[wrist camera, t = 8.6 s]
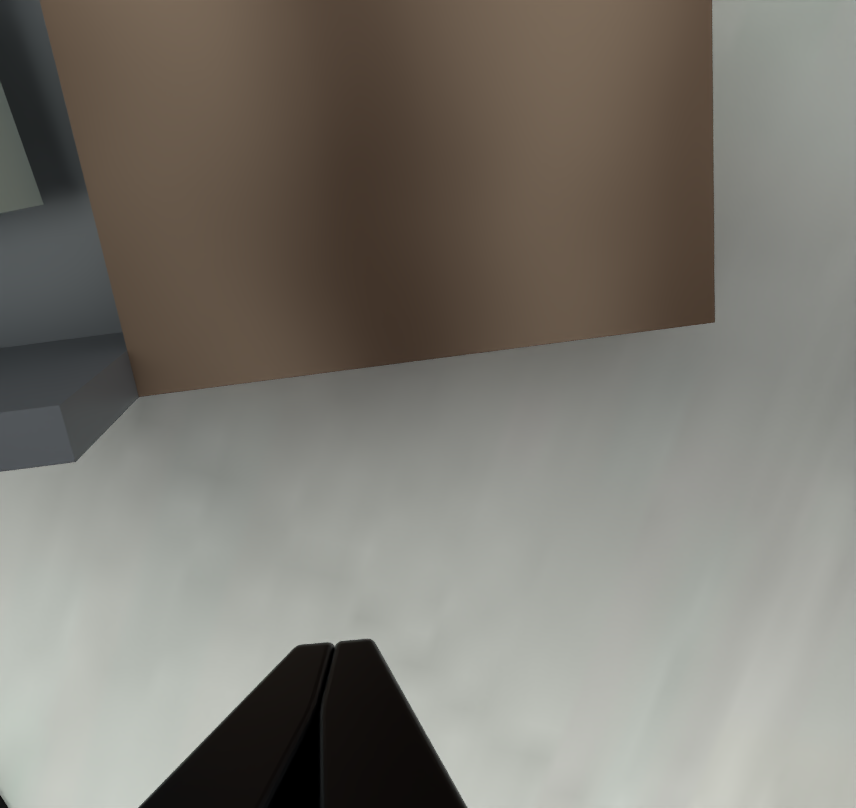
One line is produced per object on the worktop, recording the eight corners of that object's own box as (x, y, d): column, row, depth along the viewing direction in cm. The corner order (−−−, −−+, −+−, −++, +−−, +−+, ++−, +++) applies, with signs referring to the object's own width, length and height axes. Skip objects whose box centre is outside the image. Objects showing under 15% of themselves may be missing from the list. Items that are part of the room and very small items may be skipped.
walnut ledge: (659, -326, 15) (708, -411, 13) (674, 298, 19) (714, 322, 17) (28, -244, 15) (-40, -314, 13) (170, 364, 19) (138, 396, 17)
